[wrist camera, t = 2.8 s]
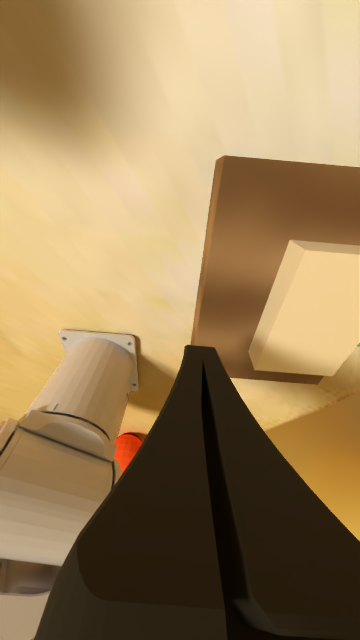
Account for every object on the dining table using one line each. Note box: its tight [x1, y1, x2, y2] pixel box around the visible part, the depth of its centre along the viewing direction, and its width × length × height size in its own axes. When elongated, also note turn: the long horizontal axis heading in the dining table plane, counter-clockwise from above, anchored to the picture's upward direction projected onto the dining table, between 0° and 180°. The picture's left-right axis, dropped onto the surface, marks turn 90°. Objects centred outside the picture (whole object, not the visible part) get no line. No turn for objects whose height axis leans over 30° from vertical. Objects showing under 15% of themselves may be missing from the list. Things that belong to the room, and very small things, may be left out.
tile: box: [248, 240, 360, 376], centre depth 14 cm, size 9×6×2 cm, turn 176°
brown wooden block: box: [191, 156, 360, 385], centre depth 16 cm, size 16×12×4 cm
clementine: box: [113, 435, 142, 473], centre depth 33 cm, size 8×7×7 cm
